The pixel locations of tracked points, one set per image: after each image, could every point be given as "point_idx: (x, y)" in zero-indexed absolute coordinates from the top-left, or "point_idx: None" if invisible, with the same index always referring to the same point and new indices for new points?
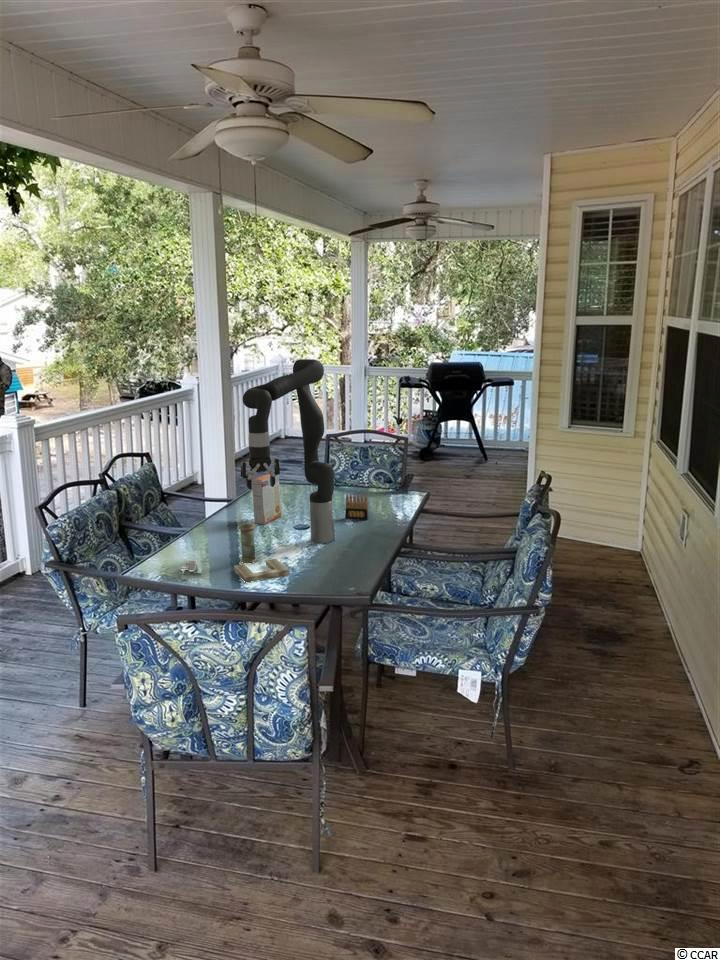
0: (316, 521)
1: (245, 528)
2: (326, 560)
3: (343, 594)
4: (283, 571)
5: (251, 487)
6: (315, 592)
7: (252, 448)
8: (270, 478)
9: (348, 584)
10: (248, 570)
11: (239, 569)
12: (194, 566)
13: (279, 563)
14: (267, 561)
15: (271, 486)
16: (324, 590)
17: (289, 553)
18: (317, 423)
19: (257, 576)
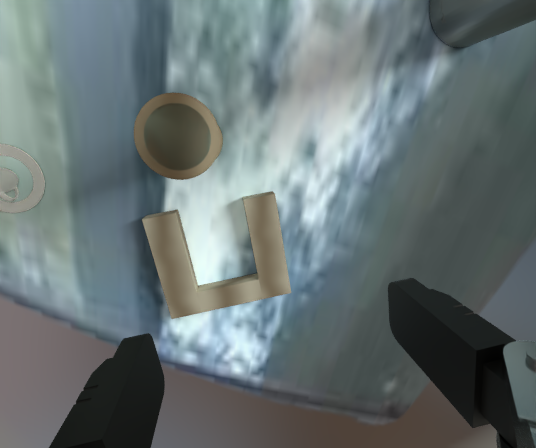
0: (505, 3)
1: (168, 177)
2: (405, 207)
3: (364, 408)
4: (275, 295)
5: (159, 403)
6: (317, 390)
7: None
8: (450, 347)
9: (392, 365)
10: (184, 270)
11: (158, 255)
12: (6, 191)
13: (277, 237)
14: (246, 211)
15: (389, 312)
16: (337, 384)
17: (329, 109)
18: None
19: (205, 310)
